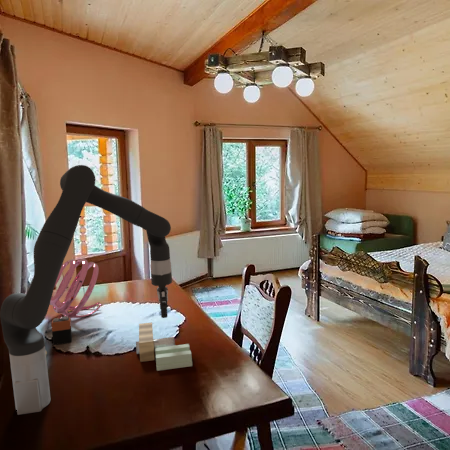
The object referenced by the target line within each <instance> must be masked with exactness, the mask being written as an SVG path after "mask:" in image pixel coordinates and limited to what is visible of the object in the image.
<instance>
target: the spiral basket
mask: <svg viewBox="0 0 450 450" xmlns="http://www.w3.org/2000/svg"><path fill="white" fill-rule="evenodd" d="M81 263H82V266H81V269H80V270H79V272H78V273H77V274H76V275H75V276H74V273H75V271H76V269H77V267H78V266H79V265H80V264H81ZM68 265H69V268H68V270H67V272H66V273H65V275H64V277H62V274H63V271H65V269H66V268H67V266H68ZM92 267H93V271H92V276H91V278H90V282H89V284H88V287H87V289H86V291H85V293H84V295H83V296H82V298H81V300H80V302H79V303H78V304H77V306H75V305H72V303H73V302H74V300H75V298H76V297H77V295H78V294H79V292H80V291H81V289H82V286H83V284H84V281H85V279H86V276H87V274H88V270H89V269H91V268H92ZM99 271H100V270H99V265H98V264H97V263H95V262H93V261H90V262H88V260H87V259H85V258H80V259H78V260H76V259H74V258H73V259H69V260H67V261H65V262H63V264H62V266H61V269H60V272H59V275H58V278H57V280H56V283H55V287H56V286H57V284H58V282H59V281H60V280H61V277H62V280H61V281H60V282H59V283H60V284H59V285H58V287H57V290H56V292H55V295H54V296H53V295H52V297H51V301H50V305H49V306H52V309H53V311H54V312H55V313H56V314H62V317H65V316H67V317H70V319H82V318H86V317H90V316H91V315H93V314H95V313H96V312H97V311H99V309H100V308H101V307H102V303H100V302H99V301H98V302H95V303H94V304H91V305H87V306H85V305H86V303H87V302H88V300H89V298H90V296H91V295H92V293H93V291H94V288H95V285H96V283H97V282H98V281H97V279H98V277H99ZM73 276H74V277H75V278H74V279H73ZM72 279H73V281H72V282H71V280H72ZM70 282H71V284H70ZM69 285H70V286H69ZM68 286H69V288H68ZM67 288H68V290H66V289H67ZM66 291H67V293H66V294H65V292H66ZM63 294H65V298H64V301H63V302H61V301H60V299H61V298H62V296H63ZM95 307H96V308H95ZM91 308H95V309H94V310H93V311H91V312H90V313H87V314H83V315H78V314H79V313H80V312H81V311H83V310H89V309H91ZM68 311H71V312H68Z"/></svg>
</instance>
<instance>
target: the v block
mask: <svg viewBox="0 0 450 450" xmlns="http://www.w3.org/2000/svg"><path fill="white" fill-rule="evenodd" d="M154 353H155V363H156V365H155V366H156V371H157V372H158V371H166V370H172V369H180V368H187V367H193V358H192V351H191V349H190V343H185V344H177V345H176V344H175V346H167V347H159V348H155V352H154Z"/></svg>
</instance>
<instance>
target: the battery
mask: <svg viewBox="0 0 450 450" xmlns="http://www.w3.org/2000/svg"><path fill="white" fill-rule="evenodd" d="M71 319H72V318H70V317H67V316H65V317H64V316H62V317H61V318H57V317H56V318H53V319H52V321H51V323H50V324H51V325H50V326H51V333H52V344H53V345H54V346H55V345H62V343H63V344H68V343H72V339H73V333H72V321H71Z"/></svg>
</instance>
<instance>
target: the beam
mask: <svg viewBox="0 0 450 450" xmlns="http://www.w3.org/2000/svg"><path fill="white" fill-rule="evenodd" d="M138 325H139V326H138V341H139V352H140V354H139V362H140V363H142V362H149V361H156V358H155V352H154V343H153V339H154V332H153V329H154V327H153V322H145V323H138Z"/></svg>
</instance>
